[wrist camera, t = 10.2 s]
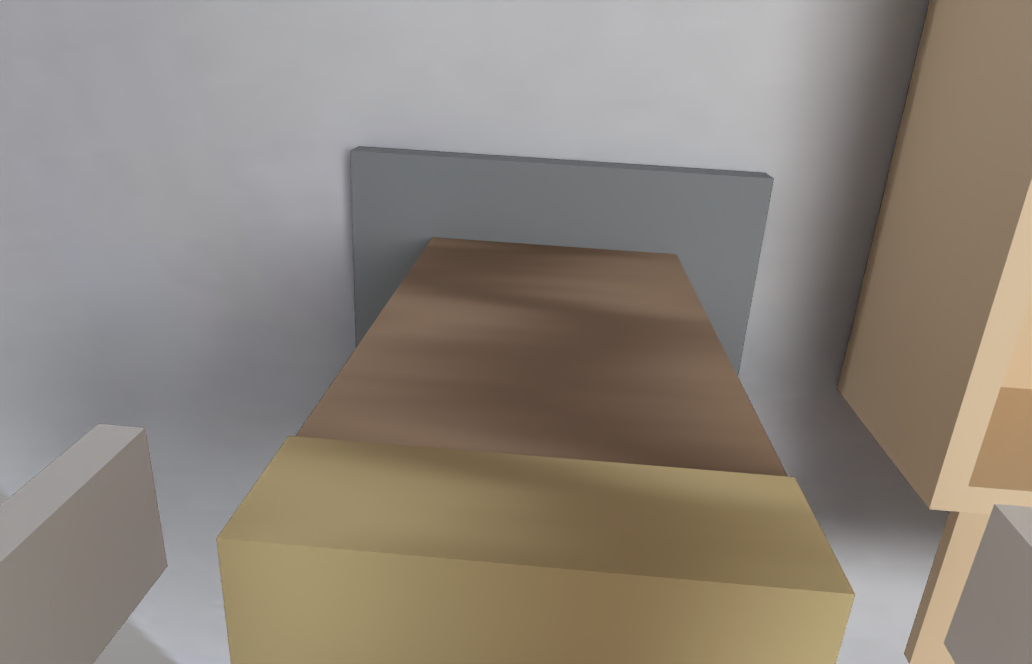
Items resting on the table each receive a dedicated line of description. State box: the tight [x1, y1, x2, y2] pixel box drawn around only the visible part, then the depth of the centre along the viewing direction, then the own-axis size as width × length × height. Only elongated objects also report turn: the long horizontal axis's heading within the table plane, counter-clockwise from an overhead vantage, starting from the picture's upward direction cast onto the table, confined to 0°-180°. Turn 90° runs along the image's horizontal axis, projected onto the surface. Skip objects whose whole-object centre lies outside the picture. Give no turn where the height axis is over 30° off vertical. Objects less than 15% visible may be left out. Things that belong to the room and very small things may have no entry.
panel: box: [350, 146, 774, 376], centre depth 20 cm, size 10×10×1 cm
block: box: [216, 237, 855, 664], centre depth 14 cm, size 6×6×12 cm
